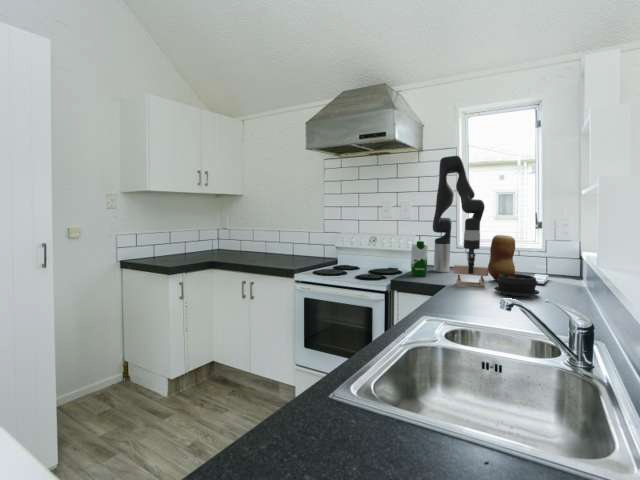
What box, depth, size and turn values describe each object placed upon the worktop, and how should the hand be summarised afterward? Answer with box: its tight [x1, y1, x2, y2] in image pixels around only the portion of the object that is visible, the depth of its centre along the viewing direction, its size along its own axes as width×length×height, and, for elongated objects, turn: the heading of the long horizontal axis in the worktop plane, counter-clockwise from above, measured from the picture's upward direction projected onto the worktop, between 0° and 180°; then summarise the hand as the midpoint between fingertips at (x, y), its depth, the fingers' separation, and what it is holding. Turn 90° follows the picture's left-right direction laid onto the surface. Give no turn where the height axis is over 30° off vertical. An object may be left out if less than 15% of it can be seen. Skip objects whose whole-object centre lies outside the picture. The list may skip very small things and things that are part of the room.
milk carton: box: [410, 240, 428, 278], centre depth 228 cm, size 9×9×20 cm
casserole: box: [494, 273, 540, 298], centre depth 180 cm, size 25×19×8 cm
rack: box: [456, 274, 486, 289], centre depth 201 cm, size 10×13×4 cm
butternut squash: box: [487, 234, 516, 283], centre depth 213 cm, size 14×13×25 cm
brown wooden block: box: [452, 264, 489, 277], centre depth 200 cm, size 4×16×4 cm, turn 61°
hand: (470, 272), depth 200 cm, fingers closed on brown wooden block, 4 cm apart
